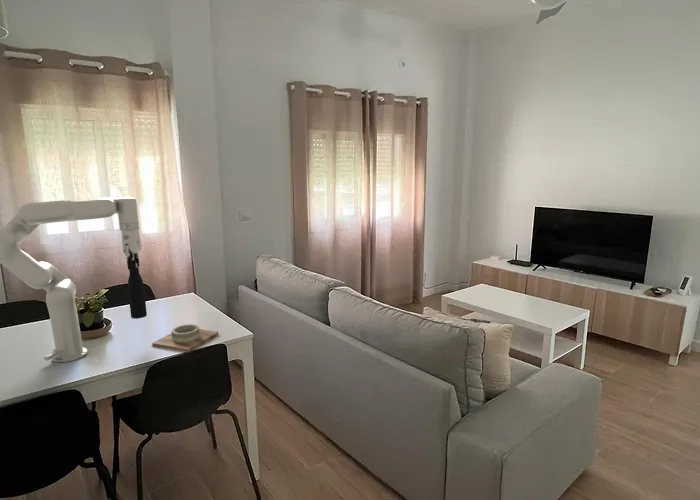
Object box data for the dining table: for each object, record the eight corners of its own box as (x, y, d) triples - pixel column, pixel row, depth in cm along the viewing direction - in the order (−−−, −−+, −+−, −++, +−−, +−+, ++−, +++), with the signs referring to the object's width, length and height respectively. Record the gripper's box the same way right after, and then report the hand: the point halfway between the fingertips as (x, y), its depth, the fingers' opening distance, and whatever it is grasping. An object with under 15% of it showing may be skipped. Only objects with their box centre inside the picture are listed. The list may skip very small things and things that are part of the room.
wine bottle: (142, 318, 190) (135, 251, 184) (128, 318, 190) (120, 251, 184) (149, 313, 197) (142, 248, 191) (135, 313, 197) (128, 248, 191)
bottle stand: (188, 352, 185) (187, 340, 184) (152, 346, 192) (151, 334, 191) (218, 334, 203) (217, 323, 202) (184, 329, 210) (183, 319, 209)
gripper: (132, 229, 178) (136, 272, 182) (144, 223, 194) (148, 263, 198) (112, 229, 177) (117, 273, 180) (126, 223, 193) (130, 264, 197)
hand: (133, 267), depth 189 cm, fingers closed on wine bottle, 3 cm apart
